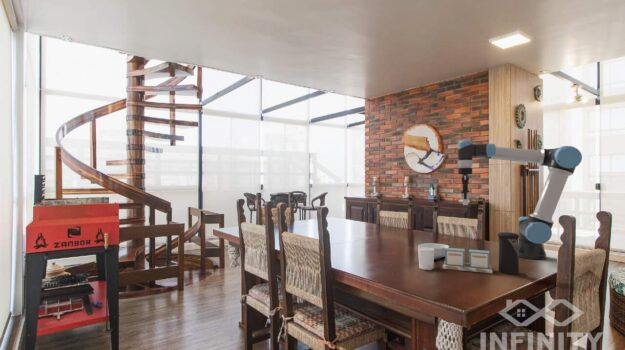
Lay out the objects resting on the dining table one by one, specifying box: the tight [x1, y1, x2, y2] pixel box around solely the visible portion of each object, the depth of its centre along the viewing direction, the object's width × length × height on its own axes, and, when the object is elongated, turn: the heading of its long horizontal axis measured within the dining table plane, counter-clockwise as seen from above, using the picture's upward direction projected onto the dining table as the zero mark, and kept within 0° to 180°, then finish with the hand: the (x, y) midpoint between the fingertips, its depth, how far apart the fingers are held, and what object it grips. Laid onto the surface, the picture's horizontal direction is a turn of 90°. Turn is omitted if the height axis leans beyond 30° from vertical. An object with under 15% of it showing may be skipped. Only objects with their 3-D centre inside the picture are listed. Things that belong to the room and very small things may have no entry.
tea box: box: [444, 247, 466, 267], centre depth 176 cm, size 5×9×9 cm, turn 66°
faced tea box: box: [468, 248, 491, 269], centre depth 171 cm, size 5×9×9 cm, turn 65°
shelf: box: [442, 260, 493, 274], centre depth 173 cm, size 22×10×2 cm, turn 65°
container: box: [497, 231, 520, 276], centre depth 166 cm, size 9×9×20 cm
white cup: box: [417, 247, 435, 271], centre depth 178 cm, size 8×8×10 cm
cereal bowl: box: [417, 242, 450, 260], centre depth 201 cm, size 17×17×7 cm
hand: (465, 204), depth 202 cm, fingers open, 13 cm apart
